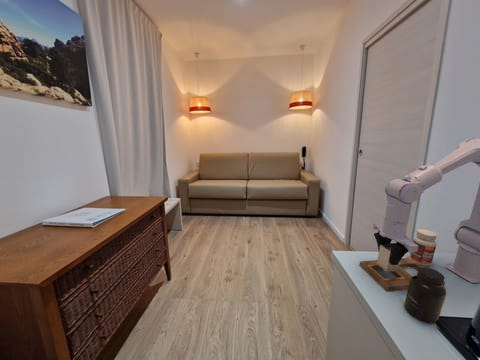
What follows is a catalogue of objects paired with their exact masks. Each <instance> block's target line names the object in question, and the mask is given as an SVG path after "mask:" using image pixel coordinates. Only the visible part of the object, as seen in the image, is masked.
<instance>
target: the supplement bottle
mask: <svg viewBox="0 0 480 360" xmlns="http://www.w3.org/2000/svg"><path fill="white" fill-rule="evenodd" d="M412 276H413V277H411V279H410V283H409V287H408V290H406V295H405V299H404V302H403V303H404V308H405V310H406V311H407V312H408V313H409V314H410V315H411V316H412V317H414V318H415V319H417V320H419V321H421V322H424V323H428V324H433V323H434V324H435V323H437V322H438V321H439V320H440V319H439V318H440V315H441V313H442V309H443V306H444V303H445V299H446V298H447V297H446V296H447V290H446V288H445V285H444V286H443V284H444V281H445V276H444V274H442V273H441V272H440V271H438V270H436V269H434V268H431V267H429V266H423V267H420V268H419V270H418V271H417V273H416V274H415V275H412ZM437 320H438V321H437ZM436 321H437V322H436Z"/></svg>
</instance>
